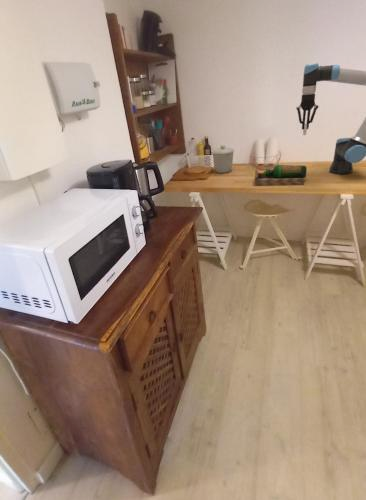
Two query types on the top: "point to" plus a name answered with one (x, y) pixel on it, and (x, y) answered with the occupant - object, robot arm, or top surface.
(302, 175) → the bottle
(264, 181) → the u rest
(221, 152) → the canister
